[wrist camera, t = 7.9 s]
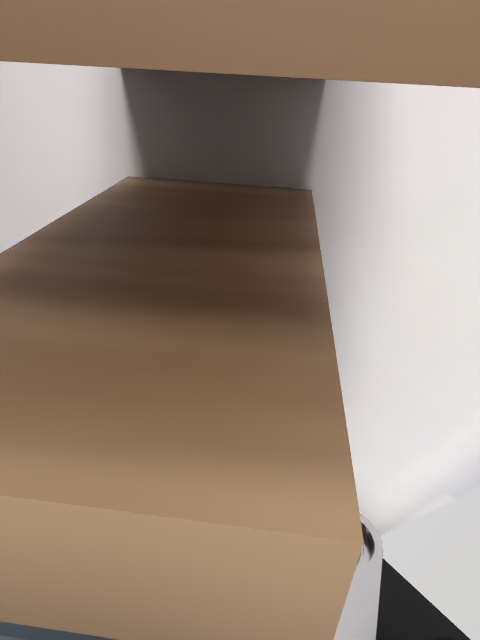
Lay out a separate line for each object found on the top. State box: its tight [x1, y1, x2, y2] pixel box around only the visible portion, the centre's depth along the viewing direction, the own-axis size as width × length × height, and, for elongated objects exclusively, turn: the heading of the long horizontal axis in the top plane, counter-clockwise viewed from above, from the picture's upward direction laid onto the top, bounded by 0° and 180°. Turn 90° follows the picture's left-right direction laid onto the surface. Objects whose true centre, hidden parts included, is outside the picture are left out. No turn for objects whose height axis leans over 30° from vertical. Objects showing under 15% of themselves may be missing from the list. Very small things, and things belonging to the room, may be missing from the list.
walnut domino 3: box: [0, 177, 364, 640], centre depth 8 cm, size 2×5×10 cm, turn 87°
